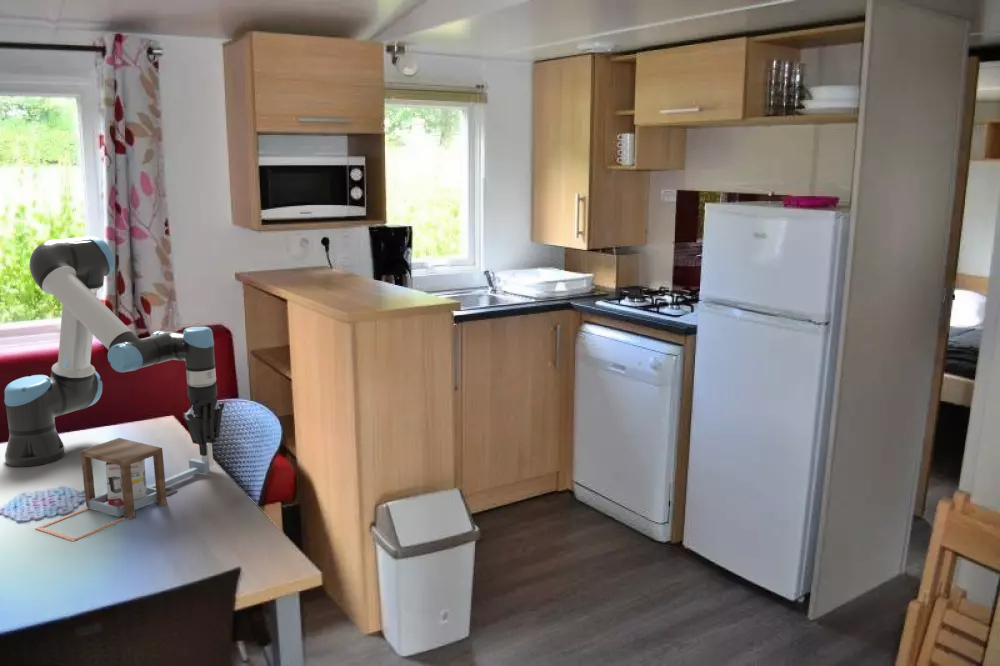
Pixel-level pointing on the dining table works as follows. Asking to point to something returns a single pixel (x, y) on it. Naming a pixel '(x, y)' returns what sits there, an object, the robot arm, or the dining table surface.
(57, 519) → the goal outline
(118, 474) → the ink box
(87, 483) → the tunnel frame
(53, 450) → the robot arm
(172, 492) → the pad
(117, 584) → the dining table surface
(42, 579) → the dining table surface
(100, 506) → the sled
